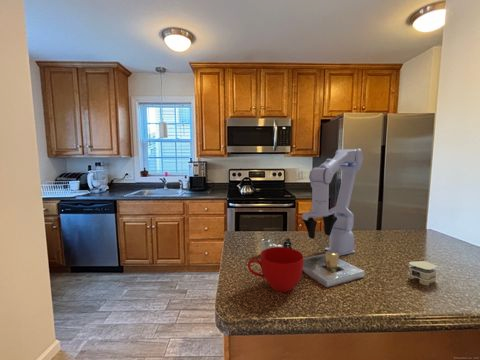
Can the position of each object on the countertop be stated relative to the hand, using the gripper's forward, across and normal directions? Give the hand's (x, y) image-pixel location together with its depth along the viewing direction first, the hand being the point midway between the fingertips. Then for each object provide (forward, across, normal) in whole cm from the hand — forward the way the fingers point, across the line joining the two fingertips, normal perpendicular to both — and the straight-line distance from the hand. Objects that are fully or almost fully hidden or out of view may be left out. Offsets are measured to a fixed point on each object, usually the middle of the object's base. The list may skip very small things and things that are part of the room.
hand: (319, 236), depth 89 cm
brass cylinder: (+10, +2, +8) cm, 13 cm away
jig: (+10, +2, +8) cm, 13 cm away
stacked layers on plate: (+11, -20, +24) cm, 33 cm away
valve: (+11, +10, -14) cm, 20 cm away
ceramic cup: (+10, +24, +7) cm, 27 cm away
